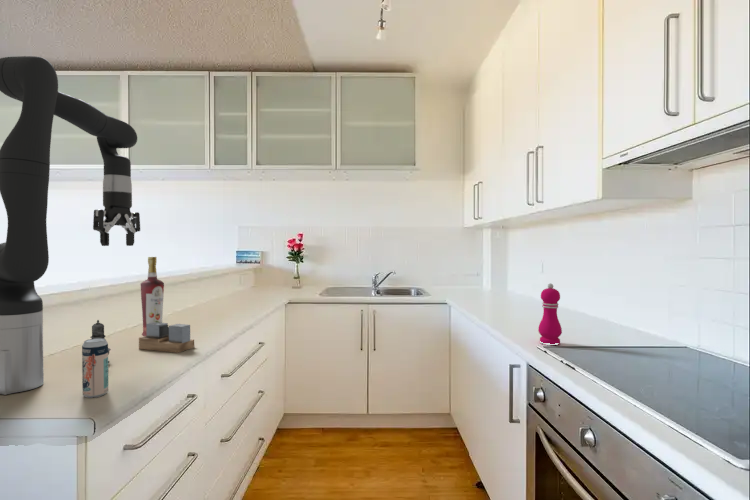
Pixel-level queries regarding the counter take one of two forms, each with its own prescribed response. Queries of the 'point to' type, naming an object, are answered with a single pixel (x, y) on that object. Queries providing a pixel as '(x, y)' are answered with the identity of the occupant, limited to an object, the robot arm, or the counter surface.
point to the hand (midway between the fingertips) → (117, 245)
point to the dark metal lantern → (98, 332)
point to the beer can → (95, 367)
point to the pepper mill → (550, 316)
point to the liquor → (152, 296)
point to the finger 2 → (179, 333)
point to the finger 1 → (157, 330)
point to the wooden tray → (164, 344)
